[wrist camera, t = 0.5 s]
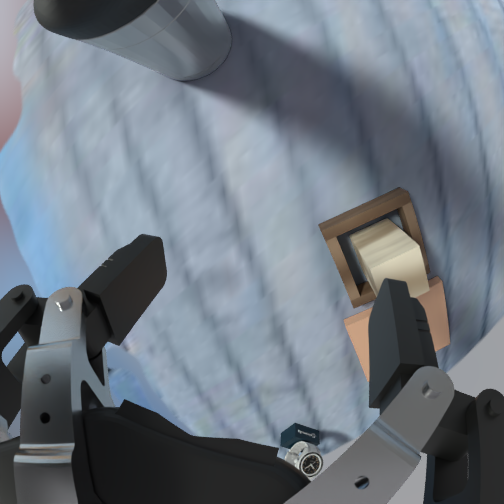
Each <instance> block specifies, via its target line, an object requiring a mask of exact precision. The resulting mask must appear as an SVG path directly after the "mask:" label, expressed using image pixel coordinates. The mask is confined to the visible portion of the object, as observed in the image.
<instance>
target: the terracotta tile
mask: <svg viewBox="0 0 504 504" xmlns="http://www.w3.org/2000/svg"><path fill="white" fill-rule="evenodd" d="M428 285H429V289H430V290H429V291H428V292H426V293H424V294H422V295H420V296H418V297H416V298H417V299H418V300H419V302H420V303H421V305H422V306H423V307H424V309H425V312H426V315H427V319H428V323H429V327H430V333H431V335H432V339H433V344H434V348H435V352H436V351H438V350H439V349H441V348H443V347H445V346H447V345H449V344H450V336H449V326H448V317H447V309H446V302H445V295H444V289H443V283H442V280H441V279H440V278H439V277H438V276H436V277H434V278H432V279H430V280H428ZM372 308H373V307H372ZM372 308H370V309H368V310H365V311H363V312H361V313H358V314H356V315H354V316H351V317H349V318H347V319H344V323H345V326H346V329H347V331H348V333H349V336H350V338H351V341H352V343H353V345H354V348H355V350H356V353H357V355H358V358H359V360H360V363H361V365H362V368H363V370H364V373H365V375H366V378H367V381H368V382H369V337H368V323H369V317H370V314H371V311H372Z"/></svg>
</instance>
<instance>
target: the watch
mask: <svg viewBox="0 0 504 504" xmlns="http://www.w3.org/2000/svg"><path fill="white" fill-rule="evenodd" d="M317 445H319V431H318V430H315V429H311V428H309V427H306V426H303V425H300V424H297V423H294V424H293V425H292V426H290V427H289V428H287V429H286V430H285V431H283V432H282V433H281V446H282V447H285V448H288V449H290V451H288V452H287V454H286V456H285V459H284V460H285V461H287V462H289V463H290V464H292V465H294V466H295V467H296V468H298V469H299V470H300V471H301V472H303V473H304V474H305V475H306V476H307V477H308V478H309V480H311V479H312V478H313V477H314V476H316V475H317V474H318V473H319V472H320V471H321V469H322V466H323V459H322V456H321V453H320V451H319V449H318V448H317ZM299 452H302V454H301V455H300V456H299V455H298V454H299Z"/></svg>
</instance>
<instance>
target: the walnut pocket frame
mask: <svg viewBox="0 0 504 504" xmlns="http://www.w3.org/2000/svg"><path fill="white" fill-rule="evenodd" d="M395 209H397V211H398V214H399V217H400V220H401V223H402V226H403V229H404V233H406V234H407V235H408V236H409V237H410V238H411V239H412V240H414V241H415V242H416V243H417V244H418V245H419V246H420V250H421V254H422V258H423V262H424V266H425V271H426V274H428V273H430V269H429V264H428V260H427V256H426V251H425V247H424V243H423V240H422V236H421V232H420V229H419V225H418V222H417V218H416V215H415V212H414V208H413V205H412V202H411V199H410V196H409V193H408V191H406V190H404V189H402V188H400V187H399V188H397V189H395V190H393V191H390V192H388V193H386V194H384V195H382V196H380V197H377V198H375V199H373V200H371V201H369V202H366V203H364V204H362V205H360V206H358V207H356V208H353V209H351V210H349V211H347V212H345V213H342V214H340V215H338V216H336V217H334V218H332V219H329V220H327V221H325V222H323V223H321V224H318V225H319V227H320V230H321V232H322V234H323V237H324V239H325V241H326V243H327V246H328V248H329V250H330V252H331V255H332V257H333V259H334V262H335V264H336V266H337V269H338V271H339V273H340V276H341V278H342V281H343V283H344V285H345V288H346V290H347V293H348V295H349V298H350V300H351V303H352V305H353V308H356V307H359V306H361V305H363V304H365V303H368V302H370V301H372V300H374V299H376V298H377V297H376V295H375V293H374V291H373V289H372V287H371V285H370V283H369V282H368V281H367V282H364V283H362V284H360V285H358V286H356V284H355V282H354V279H353V277H352V274H351V272H350V269H349V267H348V264H347V262H346V259H345V257H344V254H343V252H342V250H341V247H340V245H339V242H338V240H337V238H336V237H337V236H339V235H341V234H343V233H345V232H348V231H350V230H352V229H354V228H356V227H358V226H361V225H363V224H365V223H367V222H369V221H371V220H374V219H376V218H378V217H380V216H382V215H384V214H387V213H389V212H391V211H393V210H395Z"/></svg>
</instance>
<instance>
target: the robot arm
mask: <svg viewBox="0 0 504 504" xmlns="http://www.w3.org/2000/svg"><path fill="white" fill-rule="evenodd" d="M34 13H35V16H36V18H37V20H38V22H39V23H40V24H41V25H42V26H43V27H44V28H45V29H47V30H49V31H51V32H53V33H56V34H59V35H62V36H65V37H69V38H72V39H76V40H79V41H81V42H84V43H87V44H90V45H93V46H96V47H98V48H101V49H104V50H106V51H109V52H112V53H114V54H117V55H119V56H121V57H124V58H126V59H129V60H131V61H133V62H136V63H138V64H140V65H142V66H145V67H147V68H149V69H151V70H153V71H155V72H158V73H160V74H162V75H164V76H166V77H168V78H171V79H174V80H180V81H189V80H195V79H199V78H202V77H204V76H206V75H208V74H210V73H211V72H213V71H214V70H216V69H217V68H218V67H219V66H220V65H221V64H222V63H223V61H224V60H225V59H226V57H227V55H228V53H229V51H230V48H231V42H232V37H231V31H230V29H229V26H228V24H227V22H226V20H225V18H224V16H223V14H222V12H221V10H220V8H219V7H218V5H217V3H216V1H215V0H34ZM166 277H167V269H166V262H165V255H164V248H163V242H162V239H161V238H160V237H157V236H151V235H145V234H141V235H139V236H138V237H137V238H136V239H135V240H134V241H133V242H131V243H130V244H128V245H126V246H124V247H122V248H120V249H118V250H117V251H116V252H114V253H113V254H112V255H111V256H110V257H109V258H108V260H106V261H105V262H104V263H103V264H102V266H99V267H98V268H97V269H96V270H95V271H94V272H93V273H92V274H91V275H90V276H89V277H88V278H87V279H86V280H85V281H84V282H83V283H82V284H81V285H80V286H79V287H78V288H75V287H65V288H62V289H59V290H57V291H56V292H54V293H53V294H52V295H51V296H50V297H49V298H39V297H36V295H35V293H34V291H33V289H32V287H31V286H29V285H19V286H16V287H14V288H13V289H11V290H10V291H9V292H8V293H7V294H6V295H5V296H4V297H3V298H2V299H1V300H0V504H387V503H388V502H389V500H390V499H391V498H392V497H393V496H394V494H395V493H396V492H397V491H398V490H399V489H400V487H401V486H402V485H403V483H404V482H405V481H406V480H407V479H408V477H409V476H410V475H411V473H412V472H413V471H414V469H415V468H416V466H417V465H418V463H419V462H420V460H421V456H420V455H419V454H420V452H423V453H426V454H427V469H426V482H425V493H424V501H423V504H504V396H503V395H502V394H501V393H500V392H498V391H497V390H494V389H486V390H483V391H482V392H481V393H480V394H479V395H478V396H477V397H476V398H475V397H472V396H470V395H467V394H464V393H461V392H459V391H456V390H454V386H453V383H452V380H451V379H450V377H449V376H448V375H447V374H446V373H445V372H444V371H443V370H441V369H439V368H438V363H437V358H436V353H435V348H434V344H433V339H432V335H431V333H430V327H429V323H428V319H427V315H426V312H425V309H424V307H423V306H422V305H421V303H420V302H419V300H418V299H417V298H413V297H410V293H409V290H408V286H407V283H406V281H401V280H395V279H390V278H385V279H384V280H383V282H382V284H381V287H380V290H379V293H378V295H377V298H376V300H375V303H374V306H373V308H372V311H371V314H370V317H369V323H368V337H369V408H380V416H379V417H378V418H377V420H376V421H375V422H374V423H373V424H372V425H371V426H370V427H369V428H368V429H367V430H366V431H365V432H364V433H363V434H362V435H361V437H360V438H359V439H358V440H357V441H356V442H355V443H354V444H353V445H352V446H351V447H350V448H349V449H348V450H347V451H346V452H344V453H343V454H342V455H341V456H340V457H339V458H338V459H337V460H336V461H335V462H334V463H333V464H332V465H330V466H329V467H328V468H327V469H326V470H325V471H324V472H323V473H321V474H320V475H319V476H318V477H317V478H315V479H314V480H313V481H312V482H311V481H310V480H309V478H308V477H307V476H306V475H305V474H304V473H303V472H301V471H300V470H299V469H298V468H296V467H295V466H294V465H292V464H290V463H289V462H287V461H285V460H283V459H281V458H279V457H277V453H278V450H279V448H276V447H271V446H266V445H261V444H257V443H253V442H248V441H244V440H240V439H229V438H211V437H198V436H192V435H190V434H188V433H186V432H184V431H183V430H182V429H180V428H178V427H177V426H175V425H174V424H172V423H171V422H169V421H168V420H167V419H165V418H164V417H162V416H161V415H159V414H158V413H156V412H153V411H151V410H149V409H146V408H144V407H141V406H139V405H137V404H134V403H132V402H130V401H127V400H125V399H124V401H123V403H122V404H121V406H120V407H115V405H114V403H113V400H112V398H111V394H110V388H109V379H108V369H107V357H106V349H105V347H104V346H105V344H106V343H107V342H111V343H113V344H116V345H118V346H119V345H120V344H121V343H122V341H123V340H124V338H125V337H126V336H127V334H128V333H129V332H130V330H131V329H132V327H133V326H134V325H135V323H136V322H137V321H138V319H139V318H140V317H141V315H142V314H143V313H144V311H145V310H146V309H147V307H148V306H149V305H150V303H151V302H152V301H153V299H154V298H155V297H156V295H157V294H158V293H159V291H160V290H161V289H162V287H163V286H164V284H165V281H166ZM17 332H19V334H20V335H21V337H22V338H23V340H24V342H25V343H24V344H23V346H22V347H21V348H20V349H19V351H18V352H17V353H16V355H15V356H14V357H13V359H12V360H11V361H10V363H9V364H8V365H7V367H6V366H5V364H4V363H3V361H2V357H1V356H2V351H3V349H4V347H6V345H7V344H8V343H9V342H10V340H11V339H12V338H13V336H14V335H15V334H16V333H17ZM20 409H21V418H20V436H18V437H15V438H12V436H11V434H10V433H9V432H8V429H9V427H10V425H11V424H12V422H13V420H14V419H15V417H16V415H17V414H18V412H19V410H20Z"/></svg>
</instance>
